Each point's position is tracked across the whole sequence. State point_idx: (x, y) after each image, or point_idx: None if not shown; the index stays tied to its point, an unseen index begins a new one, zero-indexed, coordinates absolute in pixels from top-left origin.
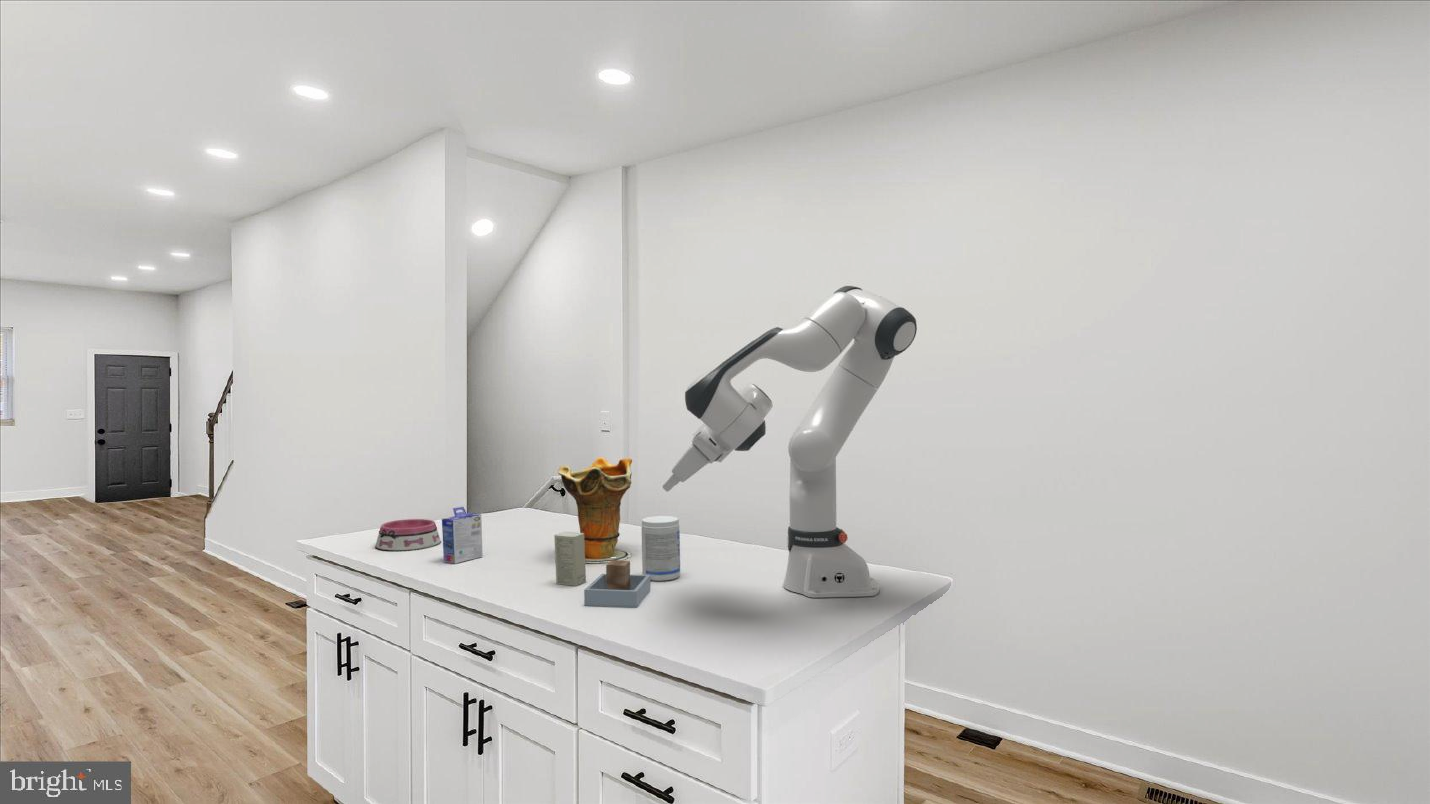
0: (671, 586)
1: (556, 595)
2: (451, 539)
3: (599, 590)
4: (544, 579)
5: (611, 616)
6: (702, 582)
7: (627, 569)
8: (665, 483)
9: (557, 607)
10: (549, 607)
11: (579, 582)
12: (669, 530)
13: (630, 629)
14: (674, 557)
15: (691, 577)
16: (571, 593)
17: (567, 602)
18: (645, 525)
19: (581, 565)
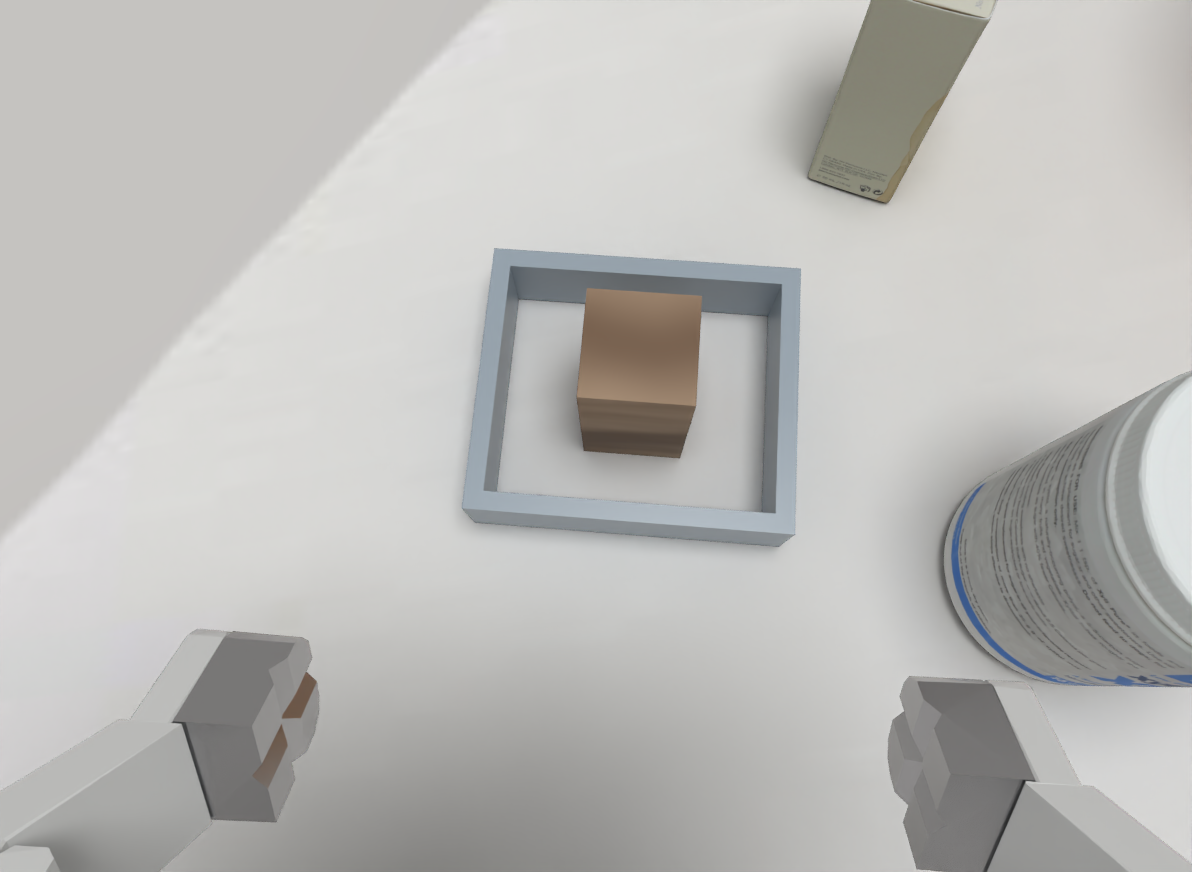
0: (856, 654)
1: (655, 133)
2: None
3: (486, 320)
4: None
5: (345, 430)
6: None
7: (630, 412)
8: (160, 681)
9: (479, 180)
10: (479, 150)
11: (835, 181)
12: (1140, 614)
13: (161, 546)
14: (1053, 656)
15: None
16: (690, 186)
17: (551, 202)
18: (1149, 403)
19: (879, 138)
